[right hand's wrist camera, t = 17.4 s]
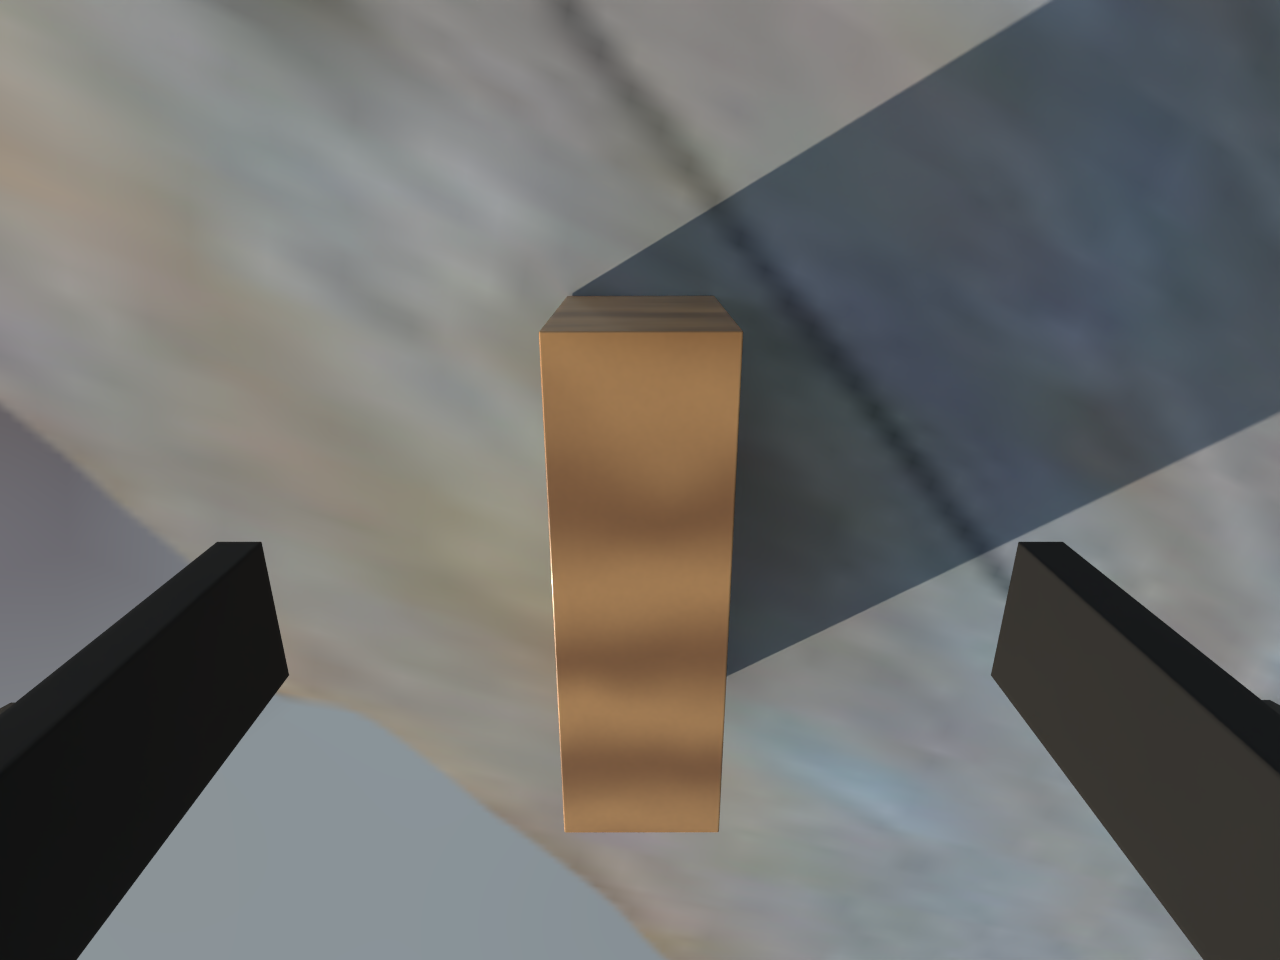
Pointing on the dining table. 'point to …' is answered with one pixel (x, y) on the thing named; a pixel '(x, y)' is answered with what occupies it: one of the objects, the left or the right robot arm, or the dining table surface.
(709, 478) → the box
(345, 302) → the dining table surface
